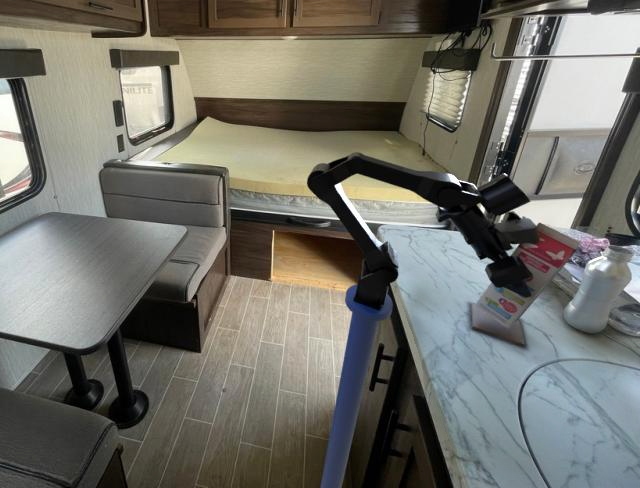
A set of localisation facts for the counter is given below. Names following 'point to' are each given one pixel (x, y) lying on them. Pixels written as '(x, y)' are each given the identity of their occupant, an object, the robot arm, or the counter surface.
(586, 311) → the plastic bottle
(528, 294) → the robot arm
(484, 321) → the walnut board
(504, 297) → the juice carton
